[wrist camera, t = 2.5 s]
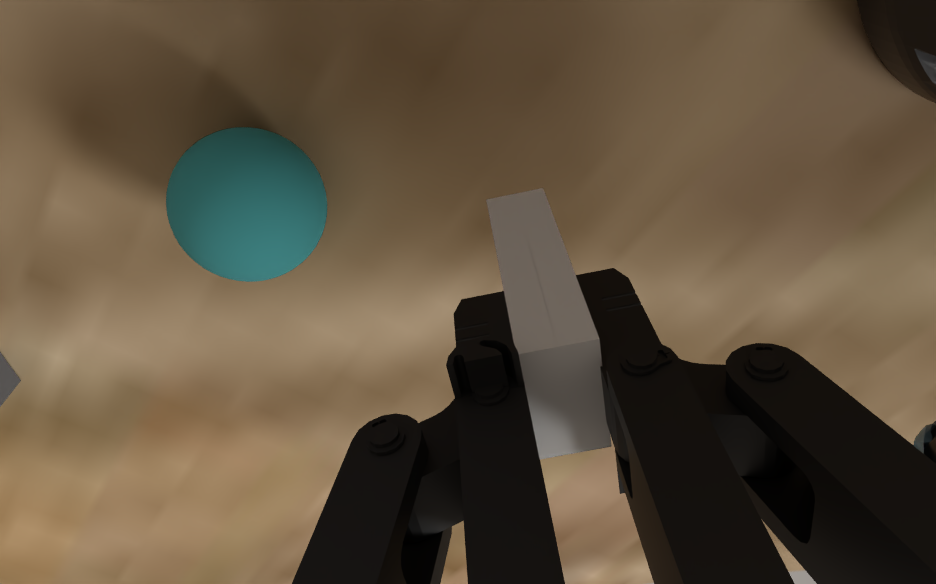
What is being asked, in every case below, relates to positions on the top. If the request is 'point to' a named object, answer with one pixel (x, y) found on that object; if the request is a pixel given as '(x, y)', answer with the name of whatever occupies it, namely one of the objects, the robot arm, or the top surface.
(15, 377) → the bridge
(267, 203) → the ball
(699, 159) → the top surface
